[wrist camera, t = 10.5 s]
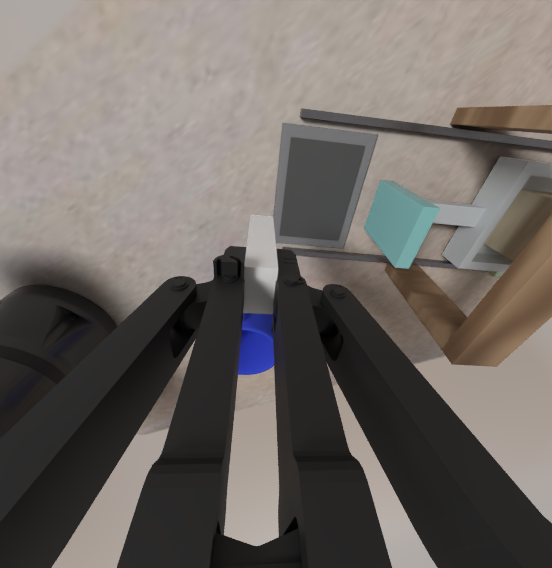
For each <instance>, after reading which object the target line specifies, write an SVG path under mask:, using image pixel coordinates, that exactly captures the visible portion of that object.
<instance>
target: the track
mask: <svg viewBox="0 0 552 568" xmlns="http://www.w3.org/2000/svg"><path fill="white" fill-rule="evenodd" d="M300 117H305V118H313V119H320V120H328V121H336V122H344V123H352V124H360V125H368V126H376V127H383V128H391V129H399V130H407V131H415V132H423V133H431V134H439V135H446V136H454V137H462V138H470V139H478V140H486V141H494V142H502V143H509V144H517V145H525V146H533V147H541V148H549V149H552V141H548V140H541V139H533V138H525V137H517V136H510V135H502V134H494V133H487V132H479V131H471V130H463V129H456V128H448V127H440V126H433V125H425V124H417V123H409V122H402V121H394V120H386V119H379V118H371V117H363V116H355V115H348V114H340V113H332V112H325V111H317V110H309V109H301V112H300ZM282 249H286V250H292V251H293V252H294V253H295V254H296V255H301V256H313V257H324V258H336V259H348V260H360V261H372V262H384V263H391V262H390V261H389V260H388V258H387V257H386V256H381V255H370V254H358V253H347V252H335V251H324V250H312V249H301V248H289V247H283V248H282ZM411 265H419V266H431V267H443V268H455V269H460V268H457V267H456V266H455V265H453V264H452V263H451V262H450V261H439V260H428V259H416V258H414V260H413V262H412V264H411ZM466 270H472V269H466ZM478 271H484V270H478ZM487 272H489V273H490V274H491V275H493V276H495V277H501V276H502V275H503V274H504V272H496V271H487Z"/></svg>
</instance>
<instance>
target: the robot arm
mask: <svg viewBox="0 0 552 568" xmlns="http://www.w3.org/2000/svg"><path fill="white" fill-rule="evenodd" d="M213 265H214V279H213V280H212V281H210V282H206V283H201V284H196V283H195V281H194V280H193V279H192V278H190V277H185V276H179V277H173V278H171V279H168V280H167V281H165V282H164V283H163V284H162V285H161V286H160V287H159V288H158V289H157V290H156V291H155V292H154V293H153V294H151V295H150V296H149V297H148V298H147V299H146V300H145V301H144V302H143V303H142V304H141V305H140V306H139V307H138V308H137V309H136V310H135V311H134V312H133V313H132V314H131V315H129V316H128V317H127V318H126V319H125V320H124V321H123V322H122V323H121V324H120V325H119V326H118V327H117V328H116V326H115V324H114V322H113V321H112V320H111V318H110V317H109V316H108V315H107V314H106V313H105V312H104V311H103V310H102V309H100V308H99V307H98V306H96V305H95V304H93V303H92V302H90V301H89V300H87V299H85V298H83V297H81V296H79V295H77V294H74V293H72V292H69V291H66V290H63V289H59V288H55V287H49V286H39V285H34V286H25V287H21V288H18V289H16V290H14V291H13V292H11V293H10V294H8V295H7V296H6V297H4V298H3V299H1V300H0V568H51V567H52V566H53V564H54V563H55V561H56V560H57V558H58V557H59V555H60V554H61V552H62V551H63V549H64V548H65V546H66V545H67V543H68V541H69V540H70V538H71V537H72V535H73V533H74V532H75V530H76V529H77V527H78V525H79V524H80V522H81V521H82V519H83V518H84V516H85V514H86V513H87V511H88V509H89V508H90V506H91V504H92V503H93V501H94V500H95V498H96V497H97V495H98V494H99V492H100V490H101V489H102V487H103V486H104V484H105V482H106V481H107V479H108V478H109V476H110V474H111V473H112V471H113V470H114V468H115V467H116V465H117V463H118V462H119V460H120V459H121V457H122V455H123V454H124V452H125V451H126V449H127V447H128V446H129V444H130V442H131V441H132V439H133V438H134V436H135V435H136V433H137V431H138V430H139V428H140V427H141V425H142V423H143V422H144V420H145V419H146V417H147V416H148V414H149V412H150V411H151V409H152V408H153V406H154V404H155V403H156V401H157V400H158V398H159V396H160V395H161V393H162V392H163V390H164V388H165V387H166V385H167V384H168V382H169V380H170V379H171V377H172V376H173V374H174V372H175V371H176V369H177V368H178V366H179V365H180V363H181V361H182V360H183V358H184V357H185V355H186V353H187V352H188V350H189V349H190V347H191V345H192V344H193V342H194V341H195V344H194V347H193V350H192V354H191V357H190V360H189V364H188V367H187V371H186V374H185V377H184V381H183V384H182V387H181V391H180V394H179V398H178V401H177V404H176V408H175V411H174V414H173V418H172V421H171V425H170V428H169V431H168V435H167V439H166V441H165V445H164V448H163V451H162V454H161V456H160V457H159V459H158V460H157V461H156V462H155V463H154V464H153V465H152V467H151V469H150V471H149V473H148V475H147V477H146V480H145V483H144V485H143V488H142V491H141V494H140V497H139V500H138V503H137V506H136V509H135V513H134V516H133V519H132V522H131V525H130V528H129V531H128V534H127V538H126V541H125V544H124V547H123V550H122V553H121V556H120V560H119V562H118V566H117V568H392V566H391V562H390V559H389V555H388V552H387V549H386V545H385V541H384V538H383V534H382V531H381V527H380V524H379V520H378V517H377V513H376V509H375V506H374V502H373V499H372V495H371V492H370V488H369V485H368V481H367V479H366V476H365V473H364V470H363V468H362V466H361V465H360V463H359V461H358V460H357V459H355V458H354V457H353V456H352V455H351V453H350V451H349V448H348V445H347V442H346V437H345V434H344V430H343V426H342V422H341V418H340V414H339V410H338V406H337V402H336V398H335V394H334V390H333V386H332V382H331V378H330V374H329V370H328V366H329V368H330V370H331V371H332V373H333V375H334V377H335V379H336V381H337V383H338V385H339V387H340V388H341V390H342V392H343V394H344V396H345V398H346V400H347V402H348V404H349V405H350V407H351V409H352V411H353V413H354V415H355V417H356V419H357V421H358V422H359V424H360V426H361V428H362V430H363V432H364V434H365V436H366V438H367V439H368V441H369V443H370V445H371V447H372V449H373V451H374V453H375V455H376V457H377V459H378V460H379V462H380V464H381V466H382V468H383V470H384V472H385V473H386V475H387V477H388V479H389V481H390V483H391V485H392V487H393V489H394V491H395V493H396V495H397V496H398V498H399V500H400V502H401V504H402V506H403V508H404V510H405V512H406V513H407V515H408V517H409V519H410V521H411V523H412V525H413V527H414V529H415V530H416V532H417V534H418V535H419V537H420V539H421V541H422V543H423V544H424V546H425V548H426V549H427V551H428V553H429V555H430V557H431V558H432V560H433V561H434V563H435V564H436V566H437V567H438V568H552V523H551V522H549V521H548V520H547V519H546V518H545V517H544V516H543V515H542V514H541V513H540V512H539V511H538V509H537V508H536V507H535V506H534V505H533V504H532V502H531V501H530V500H529V499H528V498H527V497H526V495H525V494H524V493H523V492H522V491H521V490H520V489H519V487H518V486H517V485H516V484H515V483H514V481H513V480H512V479H511V478H510V477H509V476H508V474H507V473H506V472H505V471H504V470H503V469H502V467H501V466H500V465H499V464H498V463H497V462H496V461H495V459H494V458H493V457H492V456H491V455H490V454H489V452H488V451H487V450H486V449H485V448H484V447H483V446H482V444H481V443H480V442H479V441H478V440H477V438H476V437H475V436H474V435H473V434H472V433H471V431H470V430H469V429H468V428H467V427H466V426H465V424H464V423H463V422H462V421H461V420H460V419H459V417H458V416H457V415H456V414H455V413H454V412H453V411H452V409H451V408H450V407H449V406H448V405H447V404H446V402H445V401H444V400H443V399H442V398H441V396H440V395H439V394H438V393H437V392H436V391H435V390H434V388H433V387H432V386H431V385H430V384H429V382H428V381H427V380H426V379H425V378H424V377H423V375H422V374H421V373H420V372H419V371H418V370H417V369H416V367H415V366H414V365H413V364H412V363H411V361H410V360H409V359H408V358H407V357H406V356H405V354H404V353H403V352H402V351H401V350H400V349H399V347H398V346H397V345H396V344H395V343H394V342H393V340H392V339H391V338H390V337H389V336H388V335H387V333H386V332H385V331H384V330H383V329H382V328H381V326H380V325H379V324H378V323H377V322H376V321H375V319H374V318H373V317H372V316H371V315H370V314H369V312H368V311H367V310H366V309H365V308H364V307H363V306H362V304H361V303H360V302H359V301H358V300H357V299H356V297H355V296H354V295H353V294H352V293H351V292H350V291H349V290H348V289H347V288H345V287H343V286H341V285H337V284H329V285H326V286H325V287H324V288H323V291H322V290H318V289H315V288H312V287H309V286H307V284H306V281H305V279H304V278H302V277H301V276H300V271H299V267H298V263H297V259H296V254H295V253H294V252H293V251H292V250H286V249H276V240H275V230H274V220H273V216H262V215H251V216H250V224H249V232H248V240H247V247H235V246H230V247H228V248H227V249H226V250H225V253H224V255H221V256H218V257H216V258H215V259H214V261H213ZM243 313H255V314H273V321H272V329H271V332H273V347H274V371H275V395H276V417H277V418H276V419H277V441H278V466H279V506H278V507H279V508H278V523H279V538H276V539H274V540H272V541H270V542H268V543H265V544H263V545H261V546H252V545H250V544H247V543H244V542H241V541H238V540H235V539H232V538H229V537H227V536H224V526H225V514H226V498H227V483H228V474H229V463H230V452H231V442H232V431H233V420H234V410H235V399H236V389H237V378H238V367H239V357H240V346H241V335H242V325H243ZM195 339H196V340H195ZM326 362H327V363H326ZM327 364H328V366H327Z"/></svg>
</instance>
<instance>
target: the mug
mask: <svg viewBox="0 0 552 568" xmlns="http://www.w3.org/2000/svg"><path fill="white" fill-rule="evenodd" d="M272 321H273V314H255V313H243V325H242V335H241V346H240V357H239V367H238V374H239V375H251V374H257V373H261V372H264V371H266V370H268V369H270V368H271V367H273V366H274V347H273V332H271V329H272Z"/></svg>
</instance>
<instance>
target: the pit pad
mask: <svg viewBox="0 0 552 568" xmlns="http://www.w3.org/2000/svg"><path fill="white" fill-rule="evenodd" d="M376 139H377V134H368V133H360V132H352V131H344V130H336V129H328V128H320V127H312V126H304V125H296V124H288V123H283V125H282V135H281V145H280V156H279V166H278V176H277V186H276V196H275V206H274V217H273V220H274V230H275V240H276V243H287V244H299V245H310V246H321V247H333V248H343V247H344V244H345V240H346V237H347V234H348V231H349V227H350V224H351V221H352V217H353V214H354V211H355V208H356V204H357V201H358V198H359V194H360V191H361V188H362V185H363V181H364V178H365V175H366V171H367V168H368V165H369V162H370V158H371V155H372V152H373V148H374V145H375V142H376Z"/></svg>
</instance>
